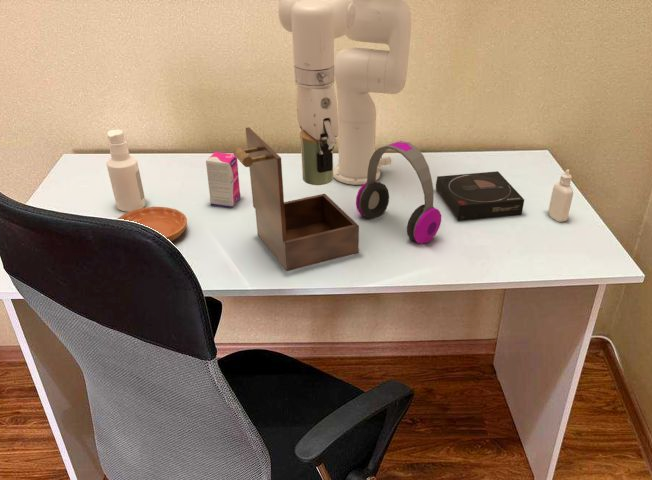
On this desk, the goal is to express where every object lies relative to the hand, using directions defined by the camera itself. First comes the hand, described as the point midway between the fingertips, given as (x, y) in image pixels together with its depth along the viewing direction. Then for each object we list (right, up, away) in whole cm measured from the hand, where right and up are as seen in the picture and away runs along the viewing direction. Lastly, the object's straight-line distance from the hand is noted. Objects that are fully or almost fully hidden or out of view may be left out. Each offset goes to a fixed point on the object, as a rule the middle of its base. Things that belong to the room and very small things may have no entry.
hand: (317, 163), depth 136 cm
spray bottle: (-47, -4, +23) cm, 52 cm away
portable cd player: (+38, -2, +29) cm, 48 cm away
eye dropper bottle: (+56, -6, +24) cm, 61 cm away
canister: (0, -3, +2) cm, 3 cm away
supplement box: (-24, -2, +26) cm, 36 cm away
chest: (-3, -16, +10) cm, 19 cm away
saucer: (-38, -12, +13) cm, 42 cm away
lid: (-10, -5, -3) cm, 11 cm away
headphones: (+17, -10, +18) cm, 27 cm away
